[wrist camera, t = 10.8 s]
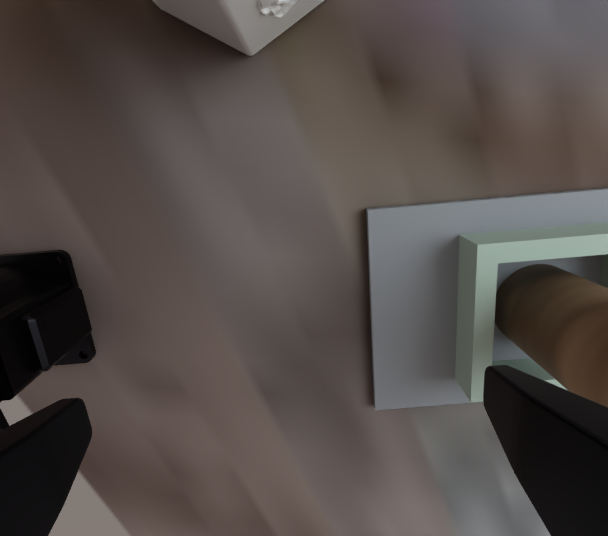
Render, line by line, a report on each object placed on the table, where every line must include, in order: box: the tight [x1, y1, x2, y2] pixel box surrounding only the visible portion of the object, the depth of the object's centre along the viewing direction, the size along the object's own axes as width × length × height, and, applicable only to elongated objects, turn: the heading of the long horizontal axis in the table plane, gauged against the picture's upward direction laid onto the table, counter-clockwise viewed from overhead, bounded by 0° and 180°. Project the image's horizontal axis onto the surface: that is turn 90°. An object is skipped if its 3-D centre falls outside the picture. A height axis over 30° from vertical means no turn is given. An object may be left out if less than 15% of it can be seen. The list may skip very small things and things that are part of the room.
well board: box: [366, 188, 608, 410], centre depth 21 cm, size 18×12×3 cm, turn 95°
